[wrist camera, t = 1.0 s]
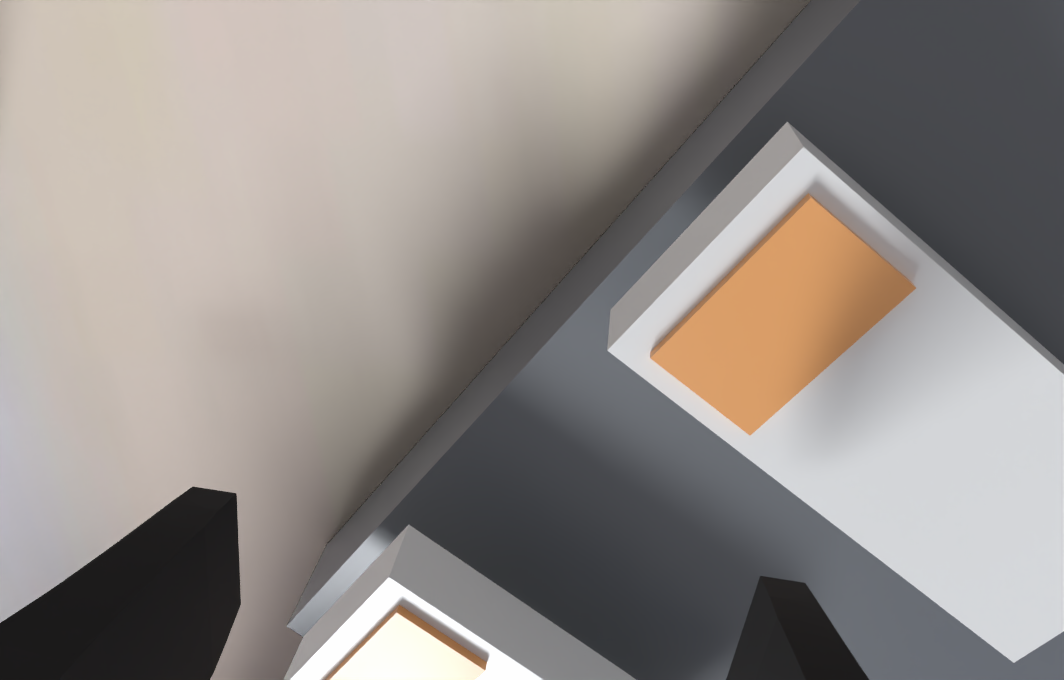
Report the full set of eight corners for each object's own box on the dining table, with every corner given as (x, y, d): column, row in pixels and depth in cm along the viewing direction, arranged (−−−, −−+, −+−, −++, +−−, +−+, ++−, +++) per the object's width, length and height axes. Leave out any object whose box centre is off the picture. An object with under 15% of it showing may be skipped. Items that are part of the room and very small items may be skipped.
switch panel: (1860, 36, 15) (2143, 68, 12) (714, 801, 27) (722, 909, 24) (1365, -623, 12) (1579, -779, 10) (326, 545, 24) (283, 632, 21)
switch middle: (1180, 466, 15) (1242, 532, 13) (983, 601, 16) (1017, 672, 15) (786, 121, 13) (806, 150, 12) (610, 309, 15) (606, 356, 13)
